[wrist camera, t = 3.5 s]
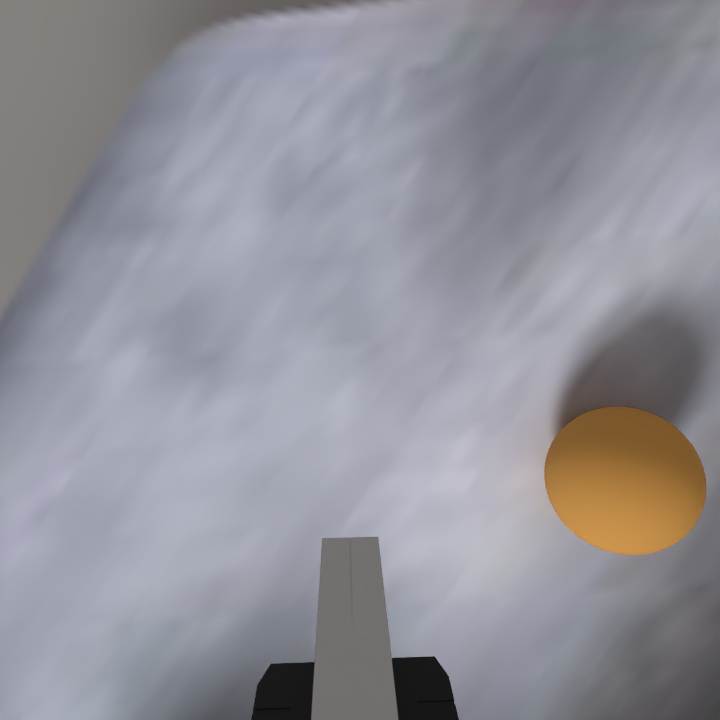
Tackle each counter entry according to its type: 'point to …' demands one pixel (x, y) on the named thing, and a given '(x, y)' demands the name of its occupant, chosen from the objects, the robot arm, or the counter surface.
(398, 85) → the counter surface
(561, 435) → the ball
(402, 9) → the counter surface
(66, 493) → the counter surface
